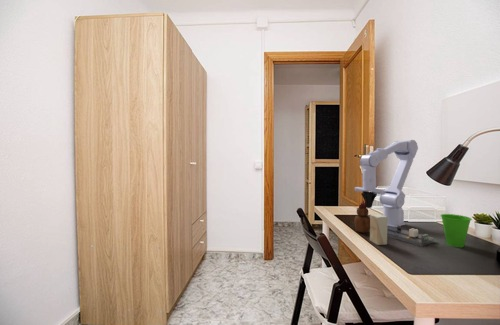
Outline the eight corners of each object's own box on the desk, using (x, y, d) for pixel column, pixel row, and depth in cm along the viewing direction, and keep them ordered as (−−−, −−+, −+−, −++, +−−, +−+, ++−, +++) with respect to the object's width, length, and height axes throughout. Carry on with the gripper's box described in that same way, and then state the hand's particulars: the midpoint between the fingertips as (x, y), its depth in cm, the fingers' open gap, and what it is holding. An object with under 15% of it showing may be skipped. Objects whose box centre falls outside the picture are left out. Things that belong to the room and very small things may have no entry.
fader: (412, 234, 97) (412, 228, 97) (417, 236, 95) (418, 229, 95) (408, 235, 95) (409, 229, 95) (414, 237, 94) (414, 230, 94)
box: (369, 240, 96) (369, 213, 95) (379, 240, 96) (379, 213, 96) (377, 245, 91) (377, 217, 90) (388, 244, 91) (388, 216, 91)
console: (387, 229, 110) (387, 221, 110) (434, 241, 93) (434, 233, 93) (374, 232, 105) (374, 224, 105) (421, 246, 89) (421, 237, 89)
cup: (470, 244, 90) (471, 216, 90) (471, 251, 84) (471, 221, 83) (441, 239, 96) (441, 212, 96) (439, 245, 90) (439, 217, 89)
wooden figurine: (367, 229, 109) (367, 198, 109) (372, 233, 104) (372, 200, 103) (352, 229, 110) (352, 198, 110) (357, 233, 104) (357, 200, 104)
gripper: (350, 178, 116) (350, 205, 116) (378, 181, 103) (378, 211, 104) (359, 178, 119) (359, 204, 120) (387, 180, 107) (387, 209, 107)
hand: (369, 207), depth 112 cm, fingers closed
